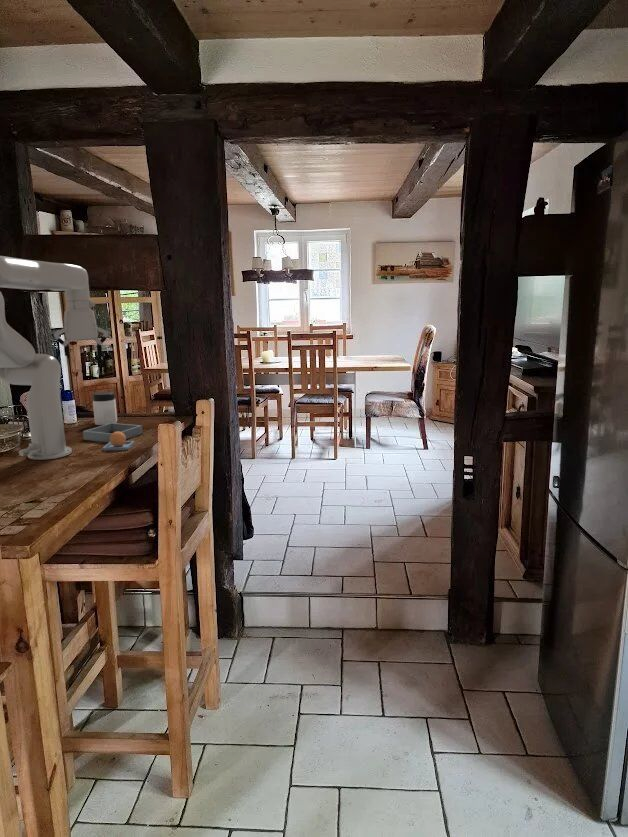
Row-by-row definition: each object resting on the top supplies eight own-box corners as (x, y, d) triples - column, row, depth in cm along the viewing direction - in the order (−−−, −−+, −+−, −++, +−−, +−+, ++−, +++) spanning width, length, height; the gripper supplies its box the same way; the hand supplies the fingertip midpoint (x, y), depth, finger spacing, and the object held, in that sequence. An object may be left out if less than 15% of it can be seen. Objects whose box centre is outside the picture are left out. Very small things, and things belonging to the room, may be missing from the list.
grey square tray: (115, 443, 188) (114, 434, 188) (83, 439, 193) (82, 431, 193) (142, 433, 201) (142, 425, 200) (112, 430, 206) (111, 422, 205)
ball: (119, 449, 179) (117, 434, 178) (107, 447, 181) (105, 432, 180) (130, 445, 184) (128, 430, 183) (118, 443, 186) (116, 429, 185)
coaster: (127, 450, 179) (127, 447, 179) (102, 450, 179) (102, 447, 178) (134, 443, 187) (134, 440, 187) (110, 444, 186) (110, 441, 186)
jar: (99, 426, 213) (96, 395, 210) (90, 423, 219) (87, 393, 216) (121, 422, 219) (119, 392, 217) (112, 419, 225) (110, 390, 222)
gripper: (105, 305, 193) (110, 354, 197) (50, 306, 187) (56, 357, 191) (106, 305, 186) (111, 356, 190) (49, 306, 180) (55, 359, 184)
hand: (84, 357), depth 190 cm, fingers open, 9 cm apart
